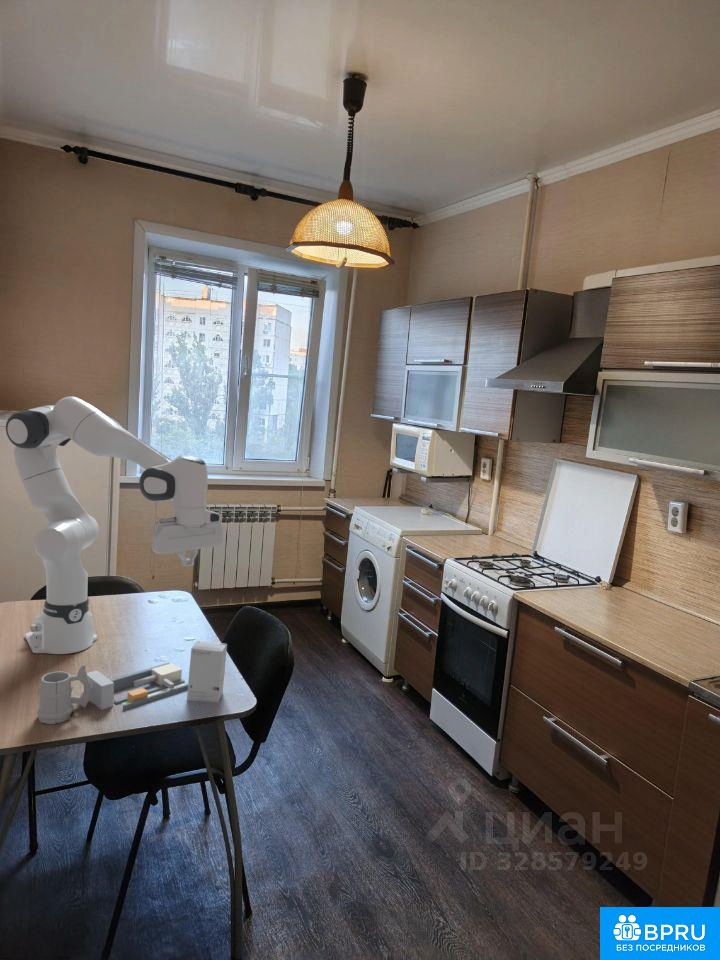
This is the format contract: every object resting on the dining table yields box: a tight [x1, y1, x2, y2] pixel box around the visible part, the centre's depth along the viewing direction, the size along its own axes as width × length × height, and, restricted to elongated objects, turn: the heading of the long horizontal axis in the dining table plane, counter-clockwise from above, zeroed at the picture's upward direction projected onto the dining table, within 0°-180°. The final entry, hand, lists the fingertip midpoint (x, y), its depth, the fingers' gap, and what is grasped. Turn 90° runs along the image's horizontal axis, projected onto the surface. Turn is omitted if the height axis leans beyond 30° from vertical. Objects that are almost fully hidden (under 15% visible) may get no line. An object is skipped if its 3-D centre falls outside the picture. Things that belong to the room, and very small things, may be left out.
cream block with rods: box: [133, 662, 183, 689], centre depth 164 cm, size 10×12×3 cm
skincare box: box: [186, 640, 228, 703], centre depth 161 cm, size 8×6×15 cm
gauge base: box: [87, 662, 188, 711], centre depth 163 cm, size 17×26×7 cm, turn 138°
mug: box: [36, 663, 92, 725], centre depth 149 cm, size 8×12×12 cm, turn 121°
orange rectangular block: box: [126, 687, 148, 703], centre depth 156 cm, size 3×4×2 cm, turn 138°
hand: (187, 565), depth 172 cm, fingers closed
